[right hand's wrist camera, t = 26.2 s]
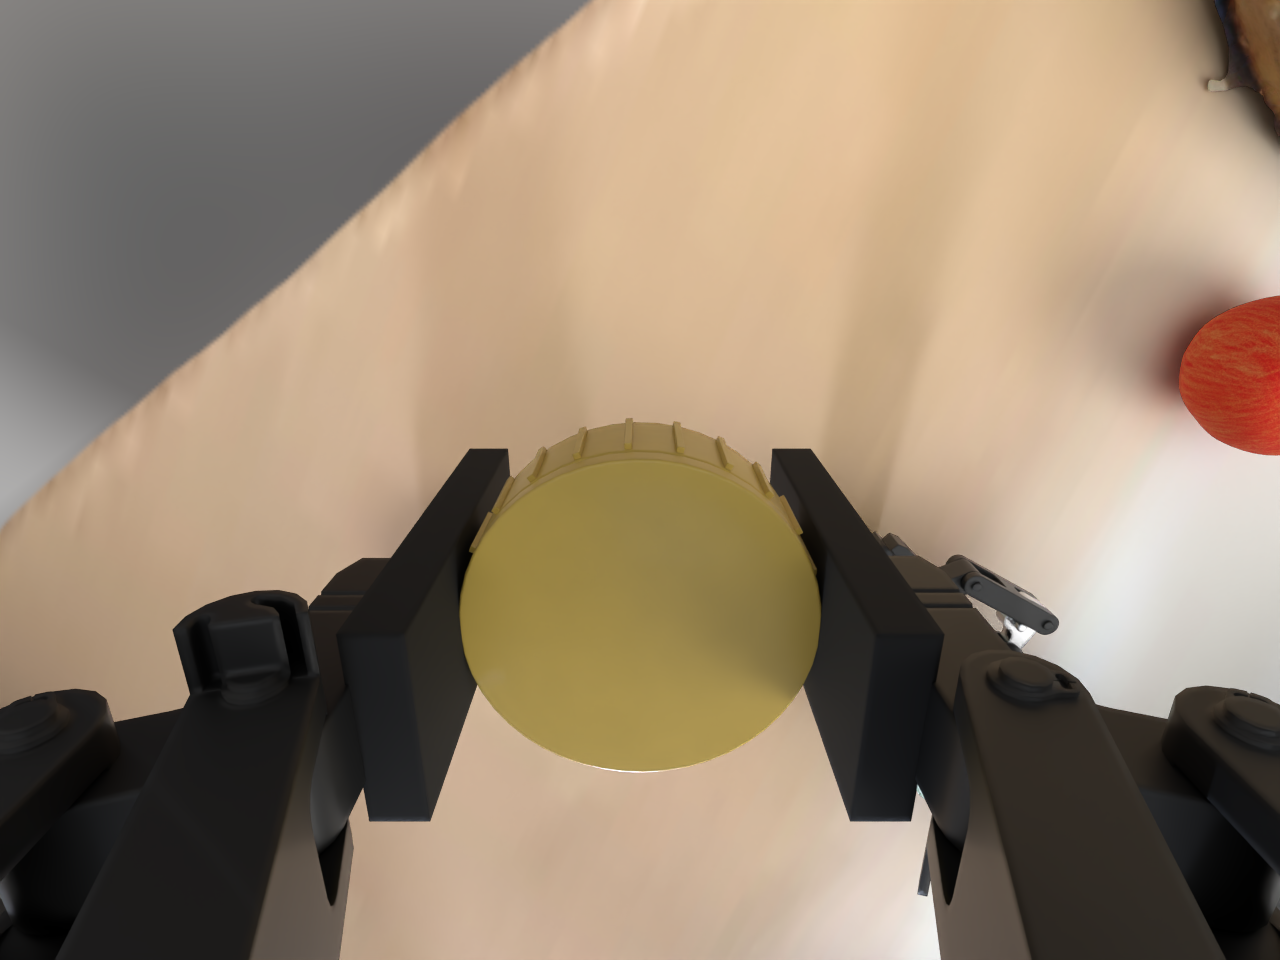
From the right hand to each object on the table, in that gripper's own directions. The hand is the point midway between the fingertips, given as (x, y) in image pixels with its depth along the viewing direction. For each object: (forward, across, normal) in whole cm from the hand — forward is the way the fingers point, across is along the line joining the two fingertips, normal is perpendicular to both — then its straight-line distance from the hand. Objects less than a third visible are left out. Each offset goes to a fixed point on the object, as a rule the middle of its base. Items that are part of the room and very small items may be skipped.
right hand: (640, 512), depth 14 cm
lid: (-4, 0, 0) cm, 4 cm away
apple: (+26, +33, -2) cm, 42 cm away
